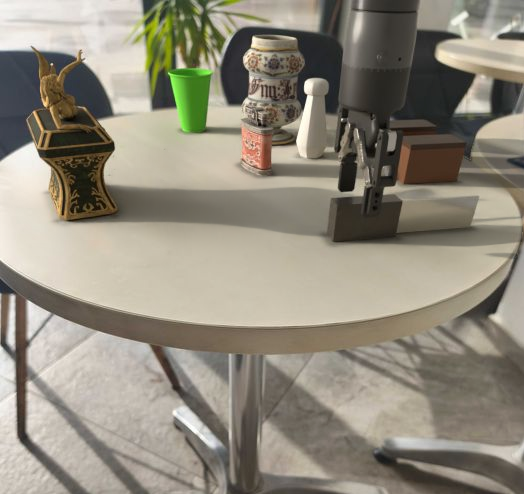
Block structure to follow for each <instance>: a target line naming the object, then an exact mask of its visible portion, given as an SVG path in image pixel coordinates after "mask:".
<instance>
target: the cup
mask: <svg viewBox="0 0 524 494" xmlns="http://www.w3.org/2000/svg"><path fill="white" fill-rule="evenodd" d="M167 74H168V76H169V77H170V83H171V88H172V92H173V96H174V100H175V104H176V110H177V115H178V119H179V123H180V128H181V129H182V131H183V132H185V133H195V134H196V133H202V132H204V131H206V128H207V120H208V119H207V118H208V109H209V100H210V89H211V79H212V75H214V73H213V71H212V70H211V69H206V68H197V67H181V68H174V69H170V70H169V71H168V72H167Z"/></svg>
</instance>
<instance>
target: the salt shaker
mask: <svg viewBox="0 0 524 494" xmlns="http://www.w3.org/2000/svg"><path fill="white" fill-rule="evenodd" d="M329 85H330V84H329V82H328V80H327V79H324V78H321V77H311V78H308V79H306V80H305V81H304V86H303V91H304V94H306V95H307V96H306V100H305V105H304V107H303V108H304V109H303V113H302V117H301V121H300V125H299V127H298V129H299V130H298V132H297V136H296V140H295V141H296V147H297V150H298V153H299V156H300V157H301V158H302V157H303V158H305V159H318V158H321V157H322V156H323V154H324V152H325V151H326V148H327V146H328V135H327V134H328V133H327V132H328V131H327V115H326V100H325V99H326V98H325V96H326V95H327V94H328V93H329V89H330V86H329Z"/></svg>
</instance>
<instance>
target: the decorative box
mask: <svg viewBox="0 0 524 494" xmlns="http://www.w3.org/2000/svg"><path fill="white" fill-rule="evenodd" d="M30 48H31V49H32V51H33V52H34V53H35V54H36V56H37V59H38V63H39V69H38V74H39V81H40V84H39V85H40V86H39V91H40V97H41V102H42V104H43V106H44V107H45V108H38V109H35V110H33V111H32V112H31V114H30V115H29V116H28V117H27V118H26V119H25V121H26V124H27V128H28V130H29V133H30V136H31V138H32V142H33V144H34V147H35V149H36V152H37V153H38V157H39V158H40V159H41V161H43V162H44V163H45V164H47V166H49V167H50V178H49V183H48V193H49V195H50V198H51V200H52V203H53V206H54V209H55V211H56V214H57V216H58V219H59V220H64V221H72V220H79V219H86V218H91V217H92V218H93V217H99V216H106V215H112V214H114V213H115V214H116V212H118V211H119V208H118V205H116V203H115V201H114V199H113V197H112V195H111V194H110V192H109V189H108V187H107V185H106V181H105V167H106V163H107V162H108V160H109V159H110V157H112V155H113V153H114V152H115V150H116V145H115V144H116V143H115V141H114V139H113V138H112V137H111V136H110V134H109V132H107V131H106V129H105V127H103V126H102V124H101V122H99V121H98V120H97V118H96V117H95V116H94V114H93V113H92V112H90V110H88V109H87V107H85V106H79V105H77V106H76V99H75V97H74V96H73V95H71V94H68V93H65V88H64V82H65V79H66V75H68V74H69V73H70V72H71V71H72V70H73V69H74V68H75V67H76V66H78V65H80V64H81V63H82V62H84V60H85V61H86V57H84V58H82V54H83V51H82V50H83V49H79V51H78V52H77V57H76V61H73V62H72V63H70V64H68V65H66V66H65V67H63V68H62V69H61V71H60V72H59V75H57V71H56V67H55V65H54V63H50V64H49V63H48V61H47V59H46V58H45V57H44V55H43V54H42V53H41V52H40V51H39V50H37V48H35V47H34V46H32V45H30Z"/></svg>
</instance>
